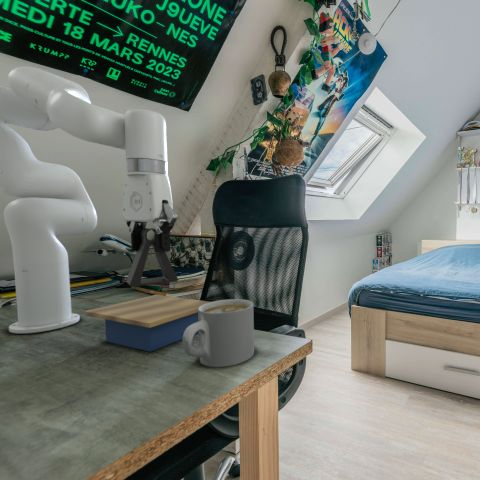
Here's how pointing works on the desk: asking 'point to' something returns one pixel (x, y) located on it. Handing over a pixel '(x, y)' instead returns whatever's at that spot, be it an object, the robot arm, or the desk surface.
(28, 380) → the desk surface
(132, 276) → the phone stand
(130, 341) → the blue box
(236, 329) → the coffee mug
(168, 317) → the oak board
